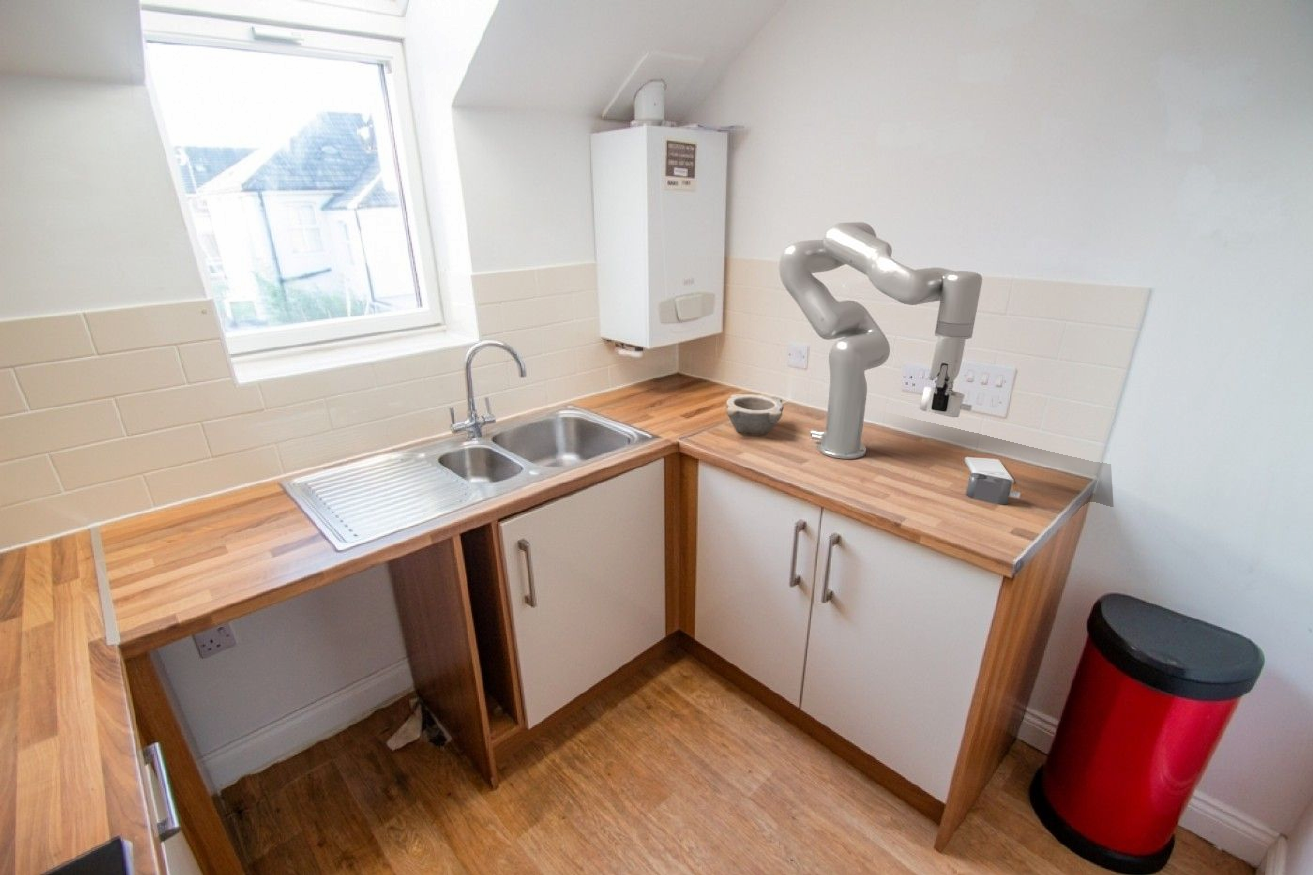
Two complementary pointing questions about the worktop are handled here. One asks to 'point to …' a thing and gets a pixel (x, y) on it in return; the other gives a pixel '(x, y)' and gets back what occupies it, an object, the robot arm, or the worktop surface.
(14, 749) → the worktop surface
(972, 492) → the charcoal connector
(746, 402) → the mortar
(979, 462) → the external hard drive
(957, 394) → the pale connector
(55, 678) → the worktop surface
